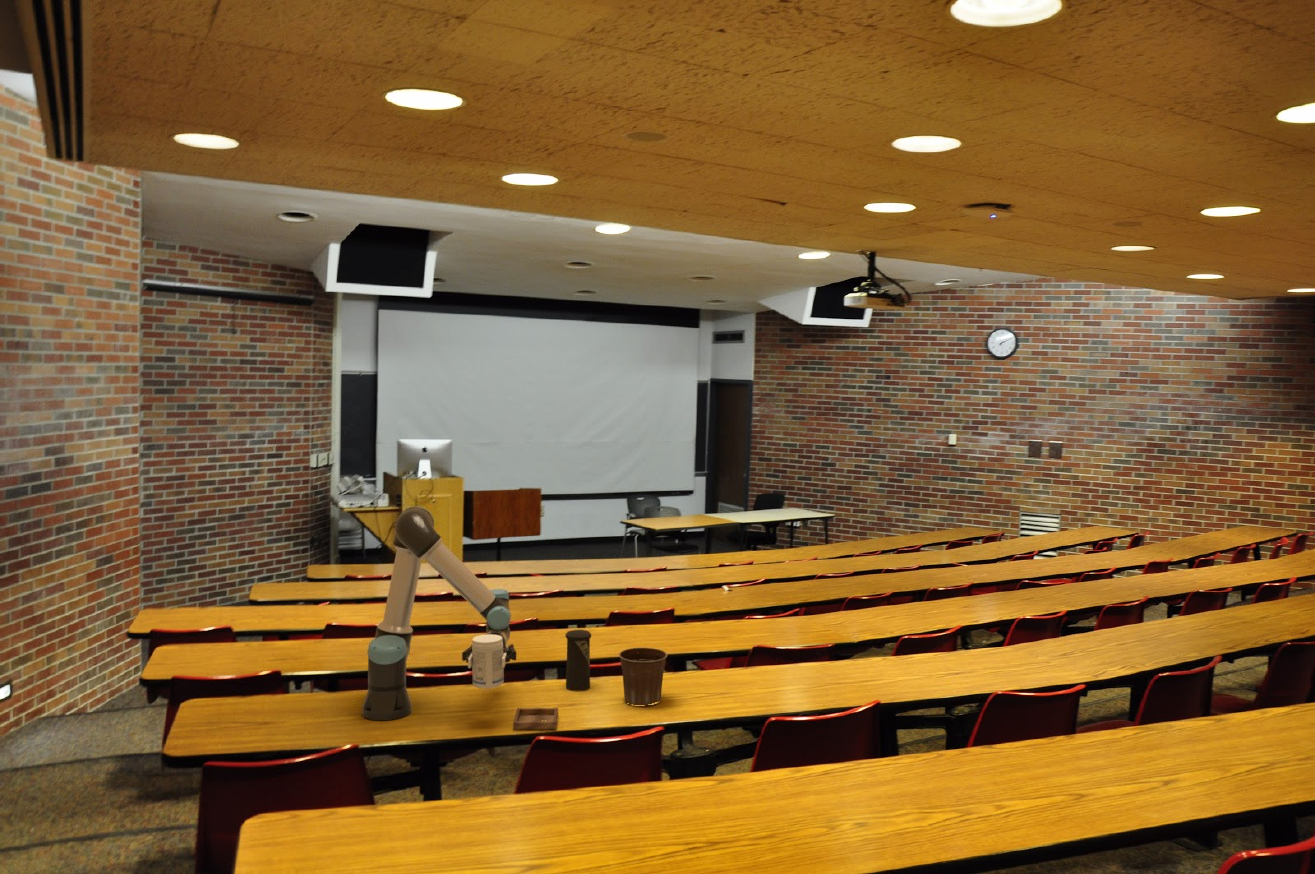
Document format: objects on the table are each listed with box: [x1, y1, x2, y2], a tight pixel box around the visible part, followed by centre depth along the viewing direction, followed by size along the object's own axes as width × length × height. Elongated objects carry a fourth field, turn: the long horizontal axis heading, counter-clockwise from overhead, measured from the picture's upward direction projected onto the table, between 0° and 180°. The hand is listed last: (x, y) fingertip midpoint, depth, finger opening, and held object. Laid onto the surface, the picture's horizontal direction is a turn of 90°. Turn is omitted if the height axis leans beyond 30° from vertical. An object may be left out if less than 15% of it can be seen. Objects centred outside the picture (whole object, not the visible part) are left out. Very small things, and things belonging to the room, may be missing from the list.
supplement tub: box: [471, 634, 505, 690], centre depth 287 cm, size 10×10×15 cm
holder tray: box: [512, 707, 559, 731], centre depth 288 cm, size 13×13×2 cm
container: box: [565, 629, 592, 691], centre depth 323 cm, size 9×9×20 cm
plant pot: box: [618, 647, 668, 706], centre depth 310 cm, size 16×16×16 cm
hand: (486, 663), depth 283 cm, fingers closed on supplement tub, 9 cm apart
